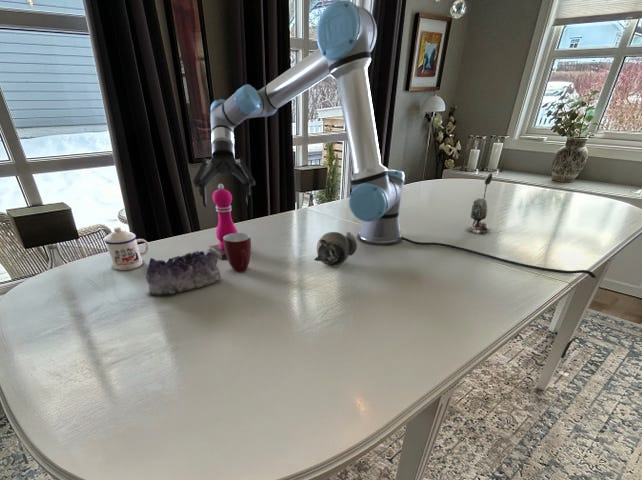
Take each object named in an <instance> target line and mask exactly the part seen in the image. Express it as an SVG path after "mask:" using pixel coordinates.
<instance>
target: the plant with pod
mask: <svg viewBox="0 0 642 480" xmlns="http://www.w3.org/2000/svg"><path fill="white" fill-rule="evenodd" d="M492 179H493V173H491V172H489V173H488V174H487V175H486V176H485V178H484V185H485V186H484V195H483V198H476V199H474V201H473V204H472V206H471V213H470V218H471V219H473V222H472V225H470V226H468V231H469V232H472V233H475V234H485V233H487V232H489V230H490V227H489V226H487V223H486V221H483V220H485V219H486V218H487V215H488V203H487V200H486V199H485V198H486V191H487V188H488V185H490V184H491V182H492ZM482 221H483V222H482Z"/></svg>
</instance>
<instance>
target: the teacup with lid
mask: <svg viewBox="0 0 642 480" xmlns="http://www.w3.org/2000/svg"><path fill="white" fill-rule="evenodd" d="M103 241H104V243H105V245H106V248H107V251H108V254H109V257H110V260H111V264H112V266H113V268H114V269H115V270H118V271H128V270H134V269H137V268H139V267H140V266H142V265H143V259H142V256H145V255H147V253H148V252H149V249H150V245H149V242H148V241H147V240H145V239H144V238H138V239H137V235H136V234H135V233H134V232H131V231H126V230H124V229H123V230H122V228H121V227H120V226H117V227H114V228H113V231H112V232H110V233H109V234H107V235H105V236H104V238H103ZM138 243H144V244H145V250H144V251H142V252H140V249H139V244H138Z"/></svg>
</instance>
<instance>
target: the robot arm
mask: <svg viewBox="0 0 642 480" xmlns="http://www.w3.org/2000/svg"><path fill="white" fill-rule="evenodd" d="M377 35H378V29H377V23H376V20H375V17H374V16H373V15H372V13H371V11H369V10H368V9H367V8H365V7H362V6H359V5H356V4H355V3H354V2H352V1H350V0H335V1H333V2H331V3H330V4H328V6H326V8H325V9H324V10H323V12H322V13H321V15H320V18H319V20H318V23H317V27H316V43H317V48H316V49H315V50H313V52H311V53H310V54H308V55H306V56H305V57H304V58H302V59H301V60H300V61H298V62H297V63H295V64H294V65H292V66H291V67H290V68H289V69H287V70H286V71H284V72H283V73H282V74H280V75H279V76H276V78H274V79H273V80H271V81H270V82H268V83H267V84H266V85H265V86H263V87H262V88H261V89H258V90H257V89H256V88H255V87H253V86H252V85H251V84H248V83H247V84H244V85H243V86H241V87H239V88H238V89H237V90H235V92H234V93H233V94H232V95H231V96H229V97H228V98H227V99H223V98H220V99H218V100H217V99H215V100H214V101H213V102H212V103H211V105H210V113H209V117H210V135H211V137H210V138H211V159H207V157H202V162H201V164H200V167H199V169H198V171H197V173H196V175H195V177H194V178H193V181H192V182H193V185H194V187H195V188H198V191H199V192H198V193H199V196H200V197H201V198H202V204H203V207H204V208H207V207H208V201H207V188H206V186H207V185H208V184H209V183H210V182H211V180H212V179H213V178H214V177H215V176H217V175H218V174H222V175H223V174H230V173H231V174H232V175H233V176H234V177H236V178H237V180H238V181H240V182H241V183H242V184H243V199H244V200H243V201H244V206H245V207H248V197H249V196H251V187H254V186H256V181H255V178H254V176H253V174H252V173H251V170H249V168H248V167H247V165H246V163H245V159H244V157H243V156H240V157H239V158H237V159H236V158H235V155H236V154H235V138H234V137H235V135H234V134H235V133H234V129H235V128H236V127H238V126H239V125H240V124H241V123H243V121H245V120H247V119H254V118H262V117H263V118H267V117H270V116H273V115H275V114H276V112H277V111H278V109H279V108H281V107H282V106H284V105H286V104H287V103H288V102H290V101H291V100H294V99H295V98H296V97H298V96H299V95H302V93H305V92H306V91H307V90H309V89H310V88H312V87H314V86H316V84H318V83H320V82H321V81H323V80H324V79H326V78H328V77H329V76H331V77H332V78H333V79H335V81H336V84H337V90H338V96H339V100H340V107H341V111H342V117H343V118H342V119H343V123H344V129H345V134H346V140H347V144H348V150H349V155H350V162H351V167H352V171H353V172H352V174H351V176H350V178H349V183H350V188H351V192H350V194H349V197H348V206H349V209H350V212H351V214H353V216H354V217H355V218H356V219H358V220H360V221H362V224H361V225H362V226H361V228H360V230H359V233H358V238H359V239H360V240H361V241H362V242H364V243H368V244H372V245H379V246H381V245H382V246H384V245H387V246H388V245H393V244H397V243H398V242H400V241H401V240H402V241H405V242H407V243H409V244H411V245H412V244H413V245H418V246H437V247H438V246H439V247H445V248H450V249H455V250H459V251H462V252H467V253H470V254H474V255H477V256H481V257H485V258H487V259H488V258H489V259H492V260H495V261H498V262H502V263H505V264H509V265H512V266H513V265H514V266H519V267H522V268H528V269H533V270H538V271H544V272H549V273H557V274H565V275H573V274H586V275H589V276H590V278H593V279H596V278H597V276H596V274H595V273H594V272H592V271H590V270H587V269H578V270H564V269H557V268H549V267H542V266H537V265H531V264H527V263H522V262H519V261H518V262H517V261H513V260H509V259H505V258H501V257H498V256H494V255H491V254H488V253H484V252H480V251H476V250H474V249H470V248H466V247H461V246H456V245H452V244H448V243H441V242H431V241H429V242H426V241H425V242H423V241H416V240H412V239H410V238H407V237H403V236H402V232H401V226H400V211H401V210H400V209H401V205H402V197H403V191H404V184H405V172H404V171H402V170H398V169H397V170H395V169H388V168H387V167H386V166H384V165H383V164H382V161H381V153H380V148H379V141H378V134H377V127H376V121H375V114H374V107H373V101H372V94H371V88H370V81H369V74H368V67H369V66H370V63H371V61H372V55H371V53H372V51H373V49H374V47H375V45H376V41H377V37H378V36H377ZM210 165H211V167H210ZM237 165H238V167H240V168H241V170H242V172H243V173H242V172H241V171H240V170H239V169H237V167H236V166H237ZM209 167H210V169H209V170H208V168H209ZM207 170H208V171H207ZM573 341H574V338H572V339H571V340H569V341H567V343H566V345H565V347H564V350H563V351H562V353H561V355H560V359H564V358H565V356H566V354H567V352H568V350H569V348H570V346H571V345H572V343H573Z"/></svg>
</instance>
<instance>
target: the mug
mask: <svg viewBox="0 0 642 480" xmlns="http://www.w3.org/2000/svg"><path fill="white" fill-rule="evenodd" d="M223 244H224V249H225V252H226V255H227V258H226V259H227V261H228V264H229V266H230V267H231V268H232V270H233V271H234V272H237V273H241V272H245V271H247V270H248V267H249V265H250V262H251V255H252V254H251V252H252V239H251V235H250V234H248V233H244V232H238V233H232V234H228V235H225V236H224V237H223Z"/></svg>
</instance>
